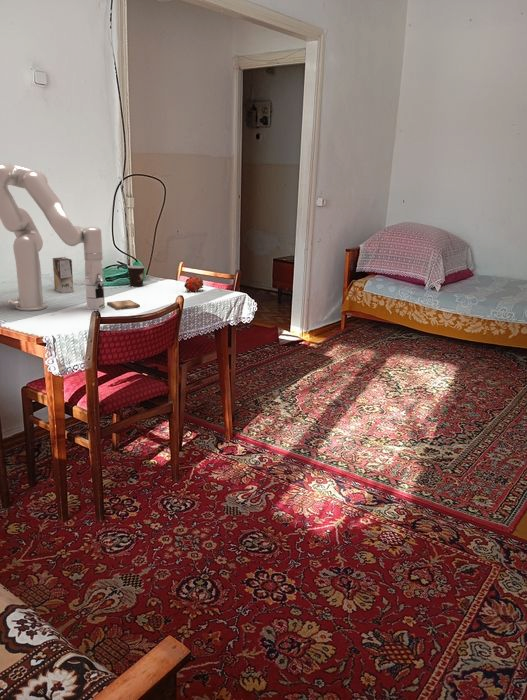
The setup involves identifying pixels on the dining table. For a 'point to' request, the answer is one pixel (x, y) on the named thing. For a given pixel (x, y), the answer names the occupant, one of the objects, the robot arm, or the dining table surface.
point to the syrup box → (93, 296)
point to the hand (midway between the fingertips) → (95, 295)
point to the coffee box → (63, 274)
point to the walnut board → (123, 304)
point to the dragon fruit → (193, 284)
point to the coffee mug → (135, 275)
